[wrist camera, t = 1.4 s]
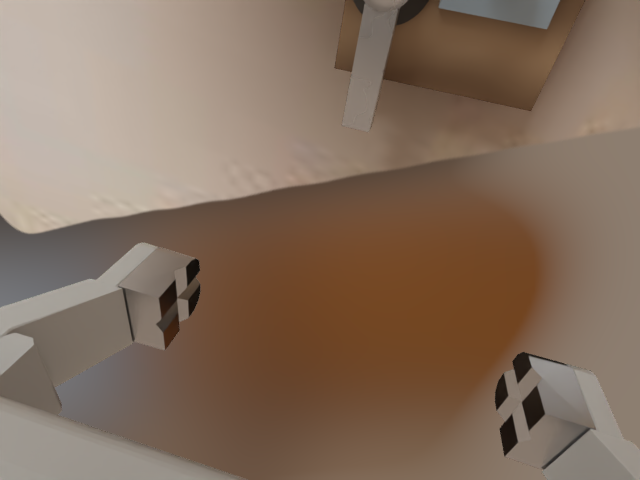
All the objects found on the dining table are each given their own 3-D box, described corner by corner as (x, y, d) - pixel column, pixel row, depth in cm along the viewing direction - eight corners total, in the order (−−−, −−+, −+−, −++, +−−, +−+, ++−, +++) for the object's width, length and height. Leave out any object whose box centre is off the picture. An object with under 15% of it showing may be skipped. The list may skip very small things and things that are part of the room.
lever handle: (371, -62, 21) (364, -66, 18) (426, -53, 20) (426, -55, 18) (340, 110, 26) (331, 124, 24) (382, 120, 26) (378, 135, 24)
